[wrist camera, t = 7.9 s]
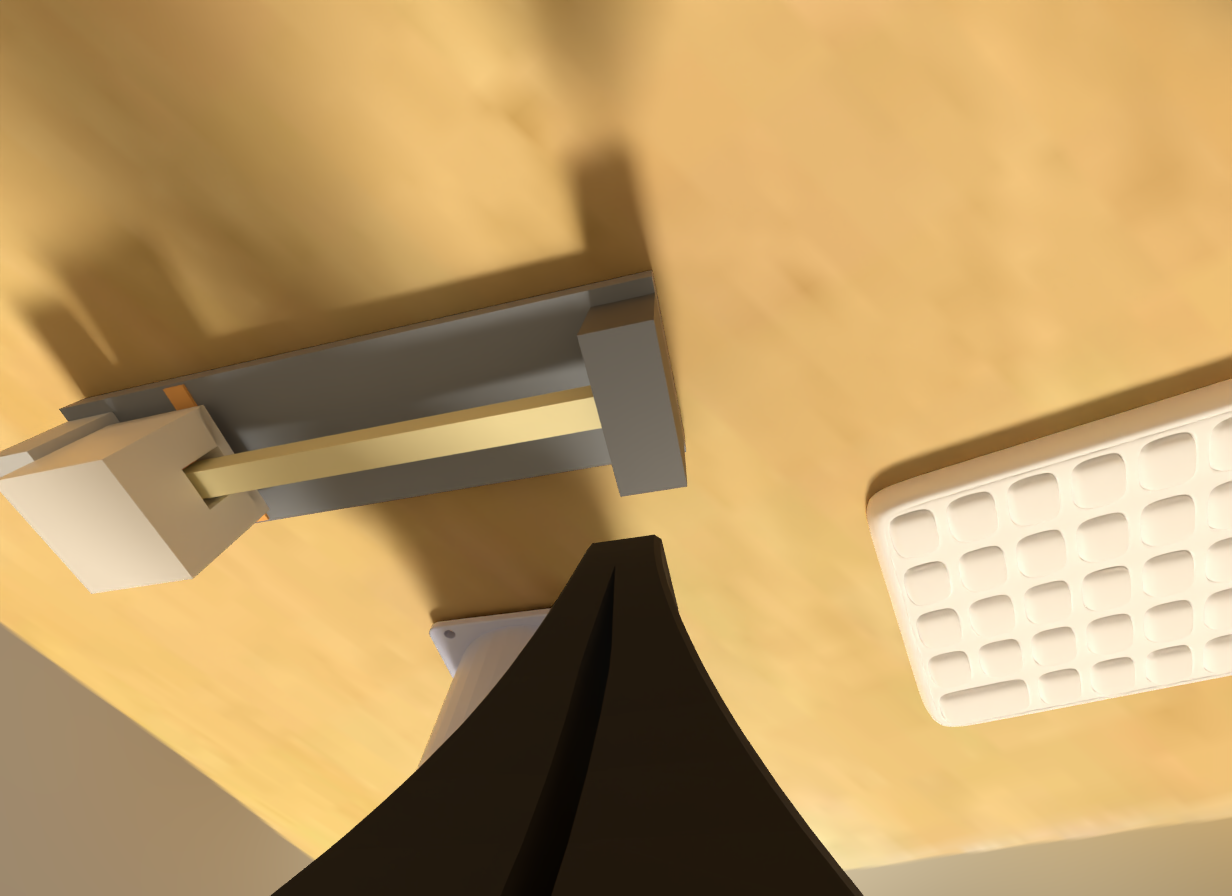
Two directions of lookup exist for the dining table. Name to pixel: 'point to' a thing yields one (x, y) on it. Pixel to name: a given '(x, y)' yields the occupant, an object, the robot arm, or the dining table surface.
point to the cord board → (430, 406)
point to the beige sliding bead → (133, 502)
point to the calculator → (1067, 563)
